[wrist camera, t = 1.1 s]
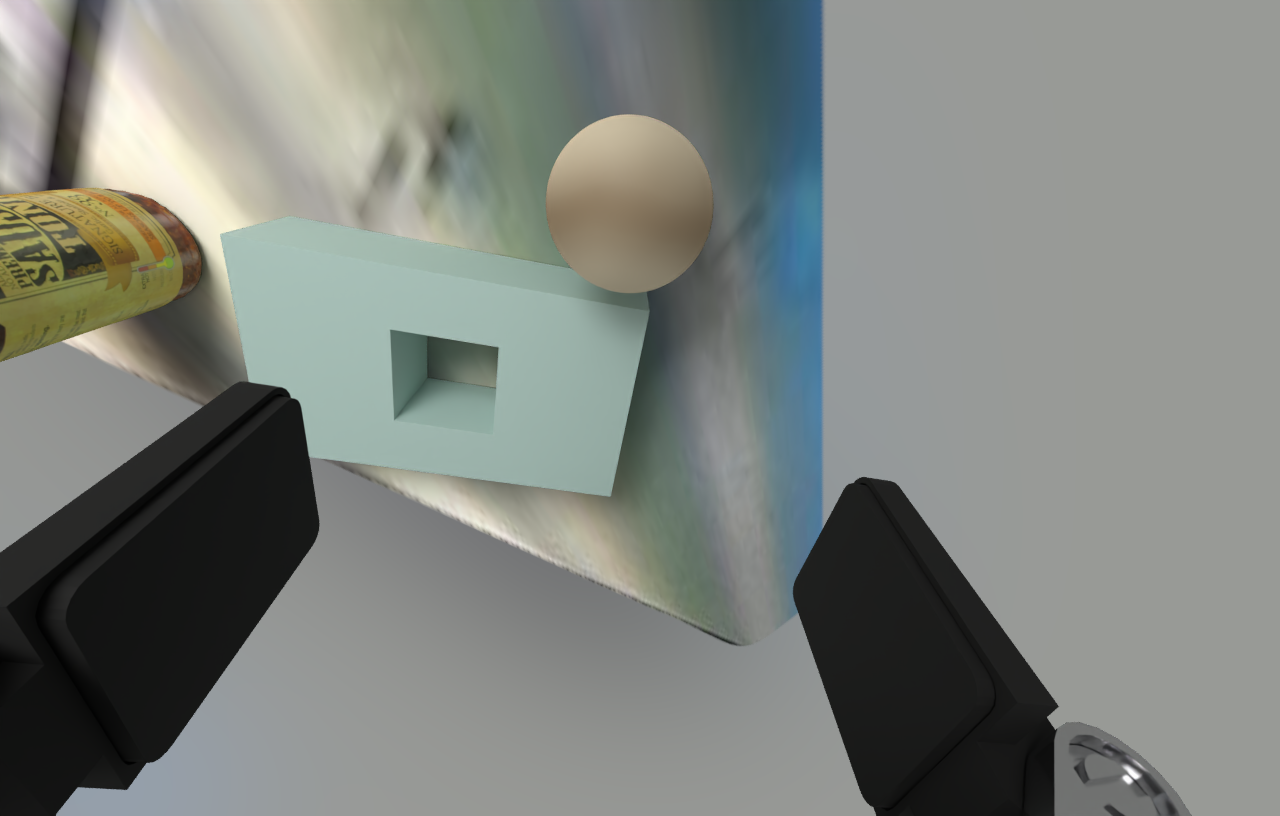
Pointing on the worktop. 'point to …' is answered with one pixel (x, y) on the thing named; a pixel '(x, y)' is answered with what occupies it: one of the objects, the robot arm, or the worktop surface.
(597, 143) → the pin
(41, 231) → the sauce bottle
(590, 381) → the block
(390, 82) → the worktop surface
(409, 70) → the worktop surface
